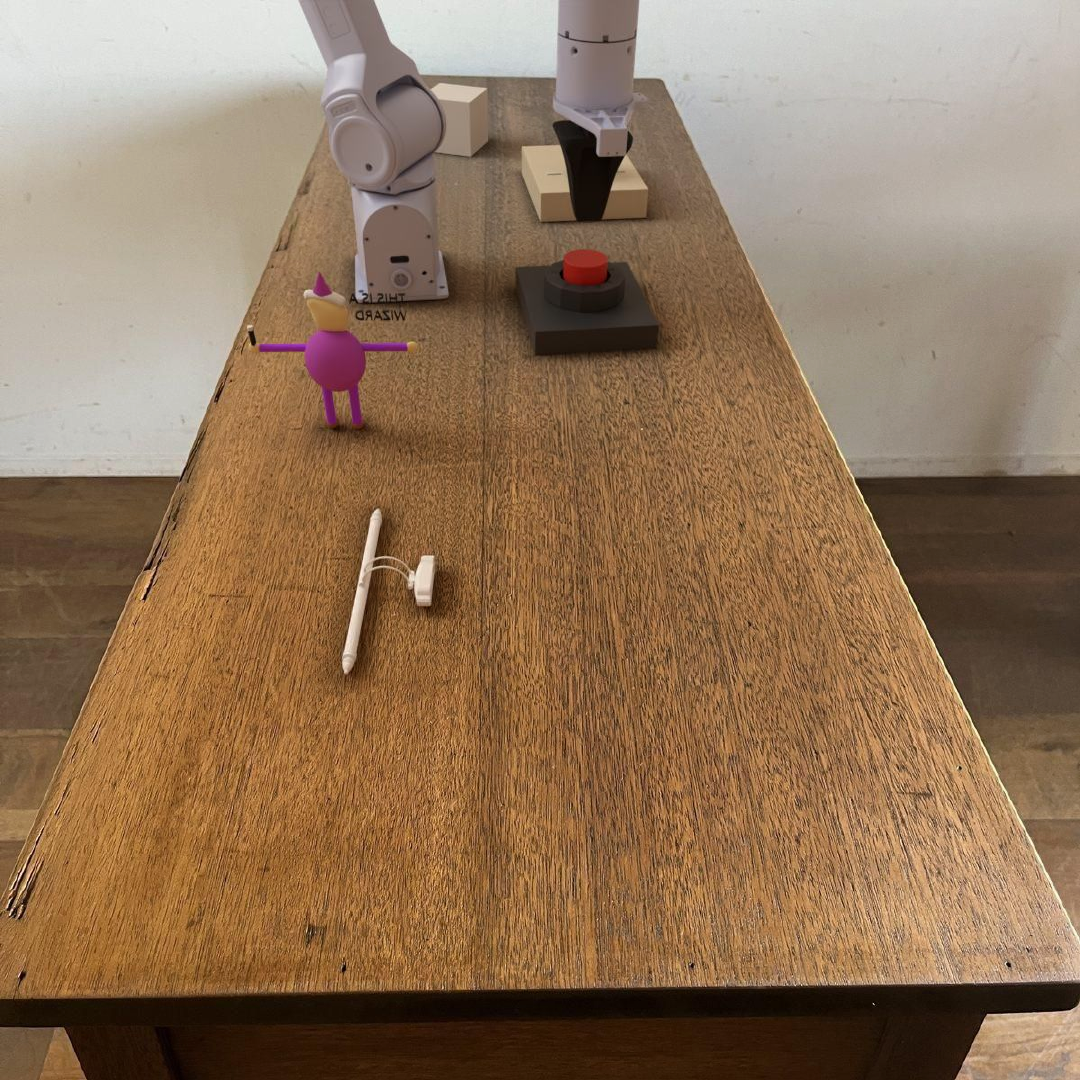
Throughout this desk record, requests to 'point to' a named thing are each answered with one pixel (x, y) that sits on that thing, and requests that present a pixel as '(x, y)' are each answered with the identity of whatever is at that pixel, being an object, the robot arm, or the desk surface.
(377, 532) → the picture light
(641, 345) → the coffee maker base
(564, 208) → the panel
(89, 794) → the desk surface
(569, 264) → the power button
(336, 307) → the wizard figurine
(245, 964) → the desk surface
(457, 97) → the beige cube
